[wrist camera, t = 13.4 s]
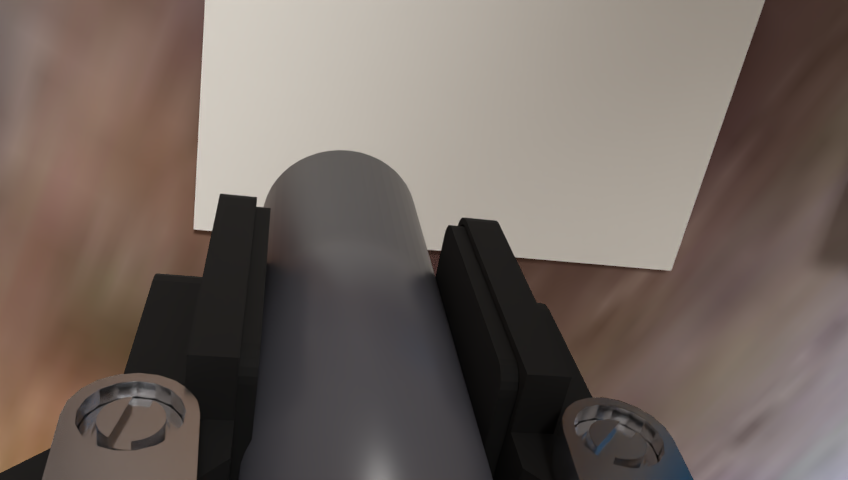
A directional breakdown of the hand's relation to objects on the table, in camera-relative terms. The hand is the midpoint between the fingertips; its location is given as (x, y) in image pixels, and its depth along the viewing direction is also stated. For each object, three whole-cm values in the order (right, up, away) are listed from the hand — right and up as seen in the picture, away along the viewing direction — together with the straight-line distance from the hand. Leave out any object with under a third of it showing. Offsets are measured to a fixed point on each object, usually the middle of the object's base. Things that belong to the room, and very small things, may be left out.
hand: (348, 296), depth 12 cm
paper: (+3, +7, +8) cm, 11 cm away
